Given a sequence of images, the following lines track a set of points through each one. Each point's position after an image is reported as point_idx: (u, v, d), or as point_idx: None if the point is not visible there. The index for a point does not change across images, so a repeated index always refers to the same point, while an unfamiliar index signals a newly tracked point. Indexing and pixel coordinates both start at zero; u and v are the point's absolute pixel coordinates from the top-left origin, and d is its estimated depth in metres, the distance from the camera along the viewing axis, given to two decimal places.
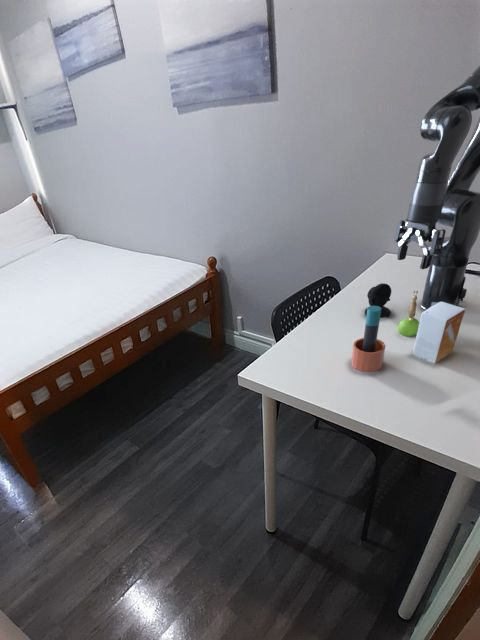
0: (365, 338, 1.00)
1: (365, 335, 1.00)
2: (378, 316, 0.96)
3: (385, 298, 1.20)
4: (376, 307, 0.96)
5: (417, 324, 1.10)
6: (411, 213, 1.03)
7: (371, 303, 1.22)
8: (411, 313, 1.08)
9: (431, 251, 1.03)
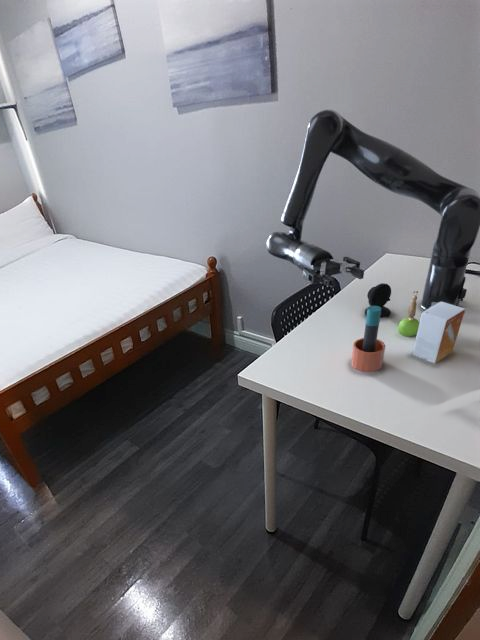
0: (365, 338, 1.00)
1: (365, 335, 1.00)
2: (378, 316, 0.96)
3: (385, 298, 1.20)
4: (376, 307, 0.96)
5: (417, 324, 1.10)
6: None
7: (371, 303, 1.22)
8: (411, 313, 1.08)
9: None
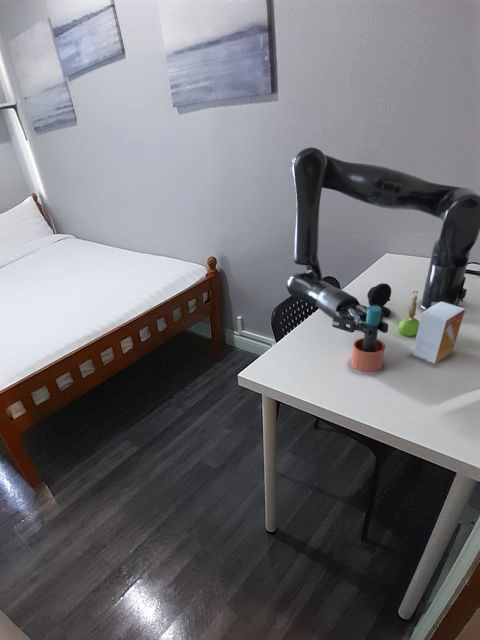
0: (365, 338, 1.00)
1: (365, 335, 1.00)
2: (378, 316, 0.96)
3: (385, 298, 1.20)
4: (376, 307, 0.96)
5: (417, 324, 1.10)
6: None
7: (371, 303, 1.22)
8: (411, 313, 1.08)
9: None
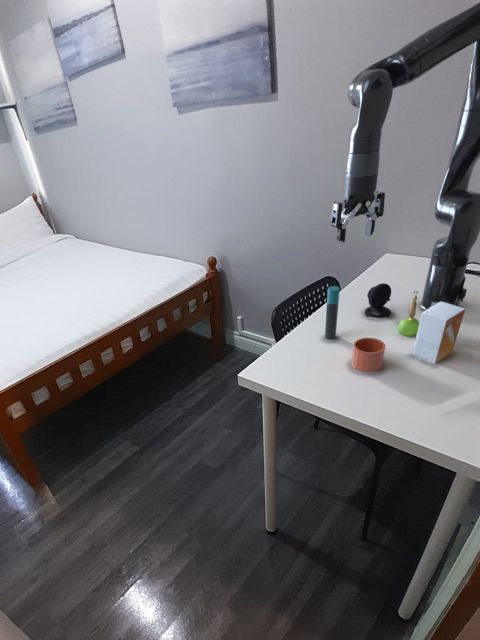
0: (327, 315, 1.13)
1: (327, 313, 1.13)
2: (337, 295, 1.09)
3: (385, 298, 1.20)
4: (335, 287, 1.09)
5: (417, 324, 1.10)
6: None
7: (371, 303, 1.22)
8: (411, 313, 1.08)
9: None
